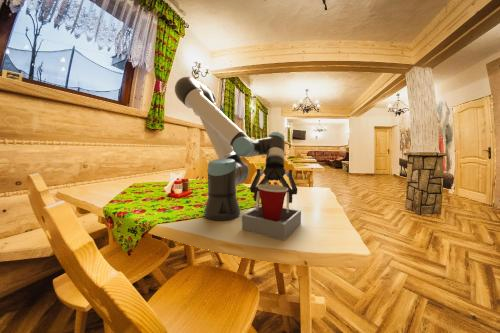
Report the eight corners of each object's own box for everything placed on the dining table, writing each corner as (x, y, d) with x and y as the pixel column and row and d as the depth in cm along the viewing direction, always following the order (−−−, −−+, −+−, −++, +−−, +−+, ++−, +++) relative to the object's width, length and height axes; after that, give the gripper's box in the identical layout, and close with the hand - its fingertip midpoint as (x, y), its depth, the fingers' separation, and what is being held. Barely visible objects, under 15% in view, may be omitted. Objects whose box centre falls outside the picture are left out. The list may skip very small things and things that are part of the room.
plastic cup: (288, 226, 60) (288, 189, 59) (255, 224, 62) (254, 188, 61) (288, 215, 71) (288, 183, 70) (259, 213, 73) (259, 183, 72)
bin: (242, 229, 64) (241, 214, 64) (263, 216, 78) (263, 204, 77) (284, 240, 56) (284, 224, 56) (300, 223, 69) (301, 210, 69)
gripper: (302, 167, 78) (305, 216, 64) (249, 166, 82) (241, 213, 68) (303, 154, 73) (307, 206, 58) (247, 154, 77) (238, 202, 63)
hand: (272, 209), depth 63 cm, fingers closed on plastic cup, 10 cm apart
